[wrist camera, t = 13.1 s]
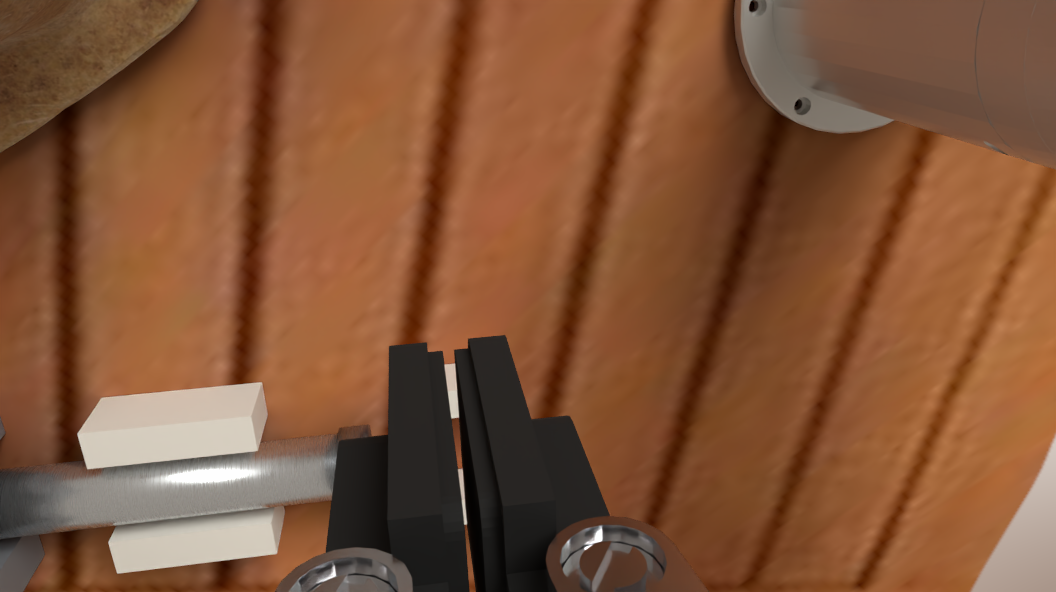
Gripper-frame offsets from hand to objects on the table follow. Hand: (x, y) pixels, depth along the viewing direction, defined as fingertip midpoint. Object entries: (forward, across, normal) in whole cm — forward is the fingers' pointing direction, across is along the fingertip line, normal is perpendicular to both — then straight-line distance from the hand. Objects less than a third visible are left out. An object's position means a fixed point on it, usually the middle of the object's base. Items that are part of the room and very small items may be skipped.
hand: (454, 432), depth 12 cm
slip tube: (+29, +16, +18) cm, 37 cm away
